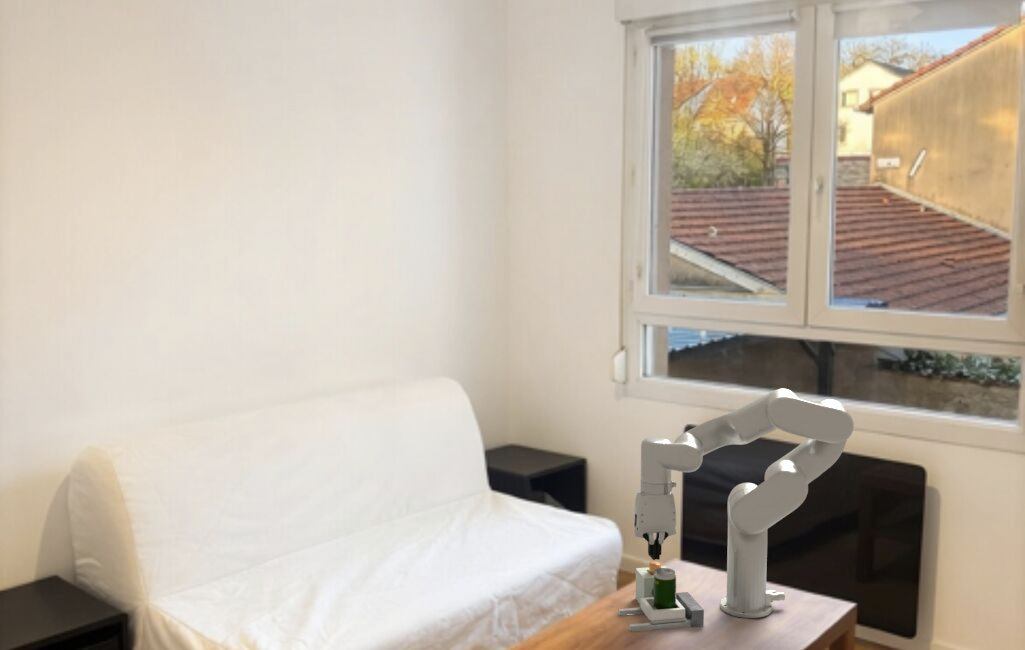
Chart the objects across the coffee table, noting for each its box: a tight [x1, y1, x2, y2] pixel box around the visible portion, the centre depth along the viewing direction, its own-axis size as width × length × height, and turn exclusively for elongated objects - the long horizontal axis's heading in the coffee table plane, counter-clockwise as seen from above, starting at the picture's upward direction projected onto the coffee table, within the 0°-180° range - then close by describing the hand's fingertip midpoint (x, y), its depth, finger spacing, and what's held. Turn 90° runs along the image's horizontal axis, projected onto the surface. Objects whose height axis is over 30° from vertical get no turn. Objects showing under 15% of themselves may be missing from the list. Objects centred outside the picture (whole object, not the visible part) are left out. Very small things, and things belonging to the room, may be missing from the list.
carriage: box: [638, 597, 687, 624], centre depth 237 cm, size 8×11×2 cm
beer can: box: [654, 567, 677, 610], centre depth 236 cm, size 5×5×12 cm
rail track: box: [618, 591, 705, 632], centre depth 237 cm, size 18×11×4 cm, turn 100°
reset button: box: [648, 561, 662, 575], centre depth 246 cm, size 3×3×2 cm
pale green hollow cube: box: [635, 565, 668, 604], centre depth 246 cm, size 8×8×8 cm
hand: (654, 557), depth 245 cm, fingers closed
